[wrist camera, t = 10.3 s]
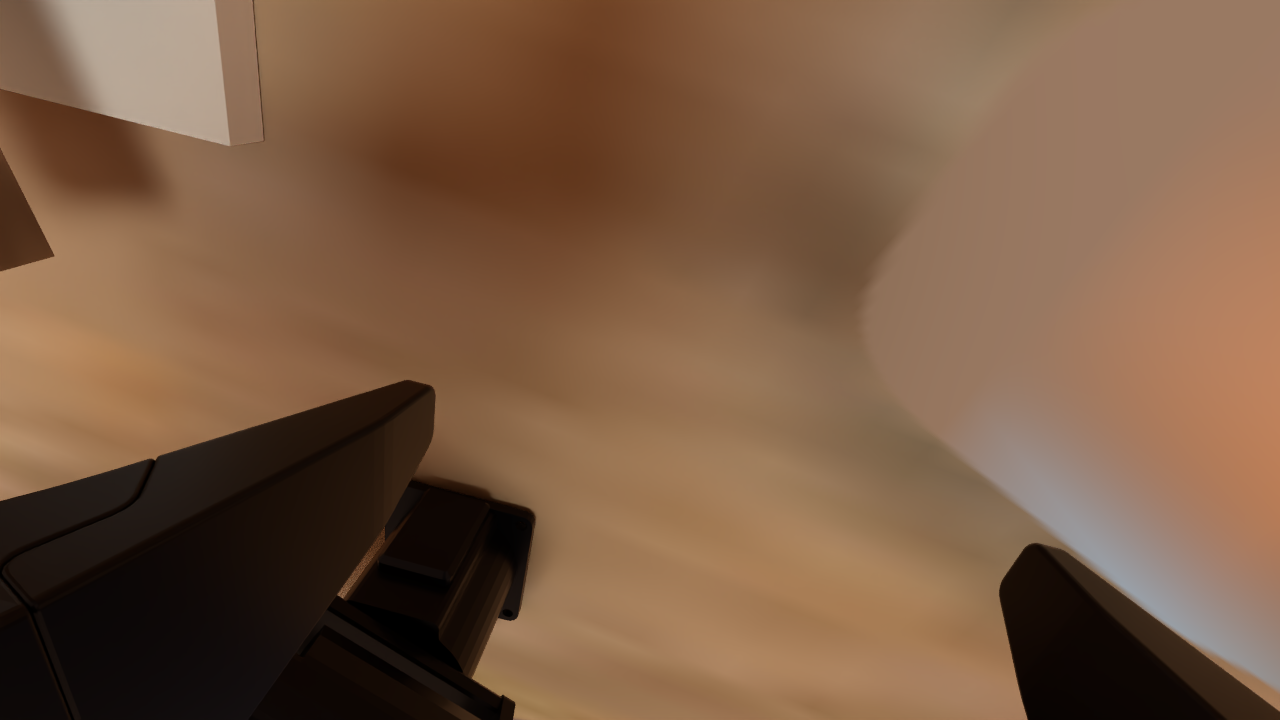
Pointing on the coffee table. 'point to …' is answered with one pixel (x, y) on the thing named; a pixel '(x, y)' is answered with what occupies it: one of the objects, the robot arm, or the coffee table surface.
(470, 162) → the coffee table surface
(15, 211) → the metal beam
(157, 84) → the fulcrum
